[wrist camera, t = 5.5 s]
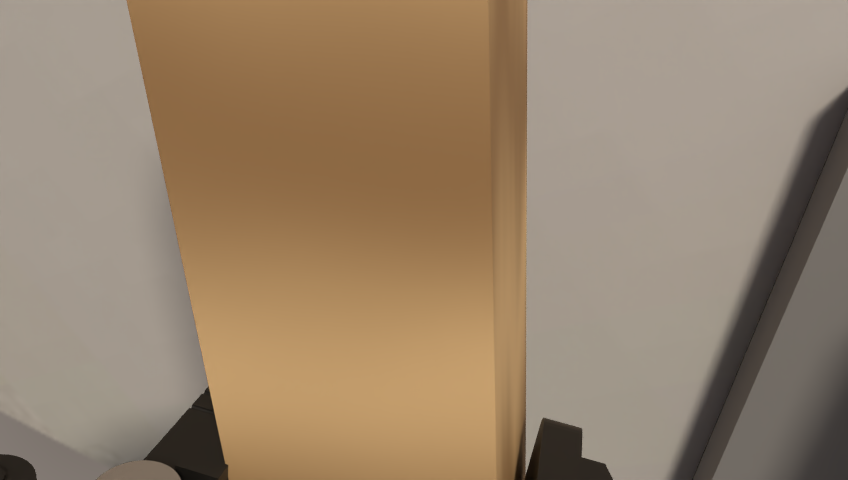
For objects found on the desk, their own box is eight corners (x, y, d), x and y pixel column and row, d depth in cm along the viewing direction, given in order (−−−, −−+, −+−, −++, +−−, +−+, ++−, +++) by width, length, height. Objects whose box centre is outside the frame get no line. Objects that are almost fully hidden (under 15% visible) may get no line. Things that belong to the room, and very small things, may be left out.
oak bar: (524, 787, 18) (505, 997, 14) (378, 753, 19) (327, 943, 15) (528, -368, 9) (478, -590, 5) (241, -320, 10) (24, -478, 6)
